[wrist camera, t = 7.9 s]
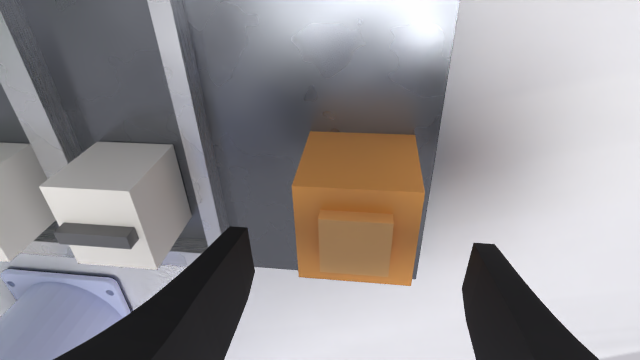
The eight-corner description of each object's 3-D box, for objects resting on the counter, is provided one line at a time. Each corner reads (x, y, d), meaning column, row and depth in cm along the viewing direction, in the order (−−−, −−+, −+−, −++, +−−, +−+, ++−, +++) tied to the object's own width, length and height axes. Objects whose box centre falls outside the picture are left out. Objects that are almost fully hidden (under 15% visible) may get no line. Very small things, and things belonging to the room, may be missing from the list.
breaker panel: (414, 262, 21) (417, 294, 19) (10, 232, 23) (-21, 258, 22) (476, -157, 11) (495, -173, 9) (-205, -121, 14) (-291, -127, 12)
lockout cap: (405, 218, 18) (411, 296, 14) (313, 212, 18) (296, 287, 14) (415, 134, 15) (426, 202, 12) (310, 131, 16) (288, 195, 12)
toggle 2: (191, 216, 19) (150, 280, 16) (124, 212, 20) (68, 274, 16) (173, 144, 17) (119, 201, 13) (97, 141, 17) (26, 195, 14)
